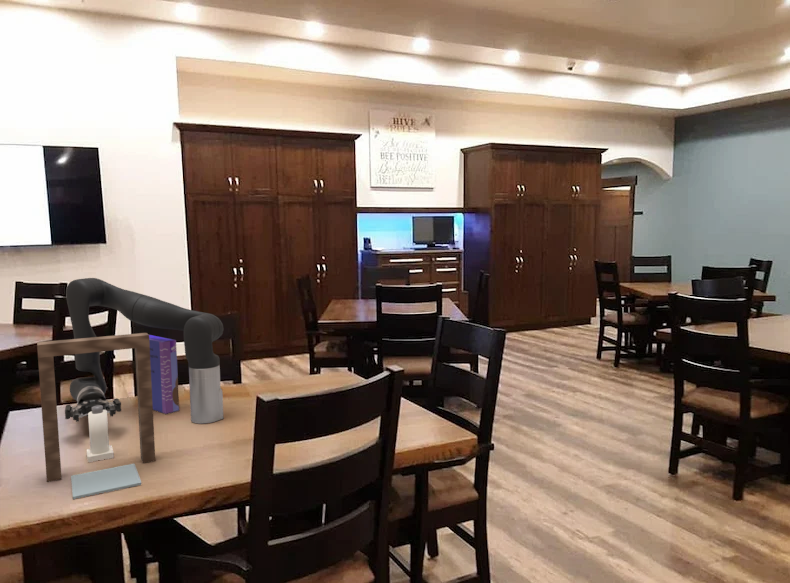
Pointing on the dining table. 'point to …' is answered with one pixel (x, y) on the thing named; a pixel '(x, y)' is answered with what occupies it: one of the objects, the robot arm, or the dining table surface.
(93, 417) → the white tall cylinder
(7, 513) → the dining table surface
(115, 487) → the mat
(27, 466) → the dining table surface
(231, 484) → the dining table surface
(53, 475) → the archway
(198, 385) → the robot arm
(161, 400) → the cereal box
